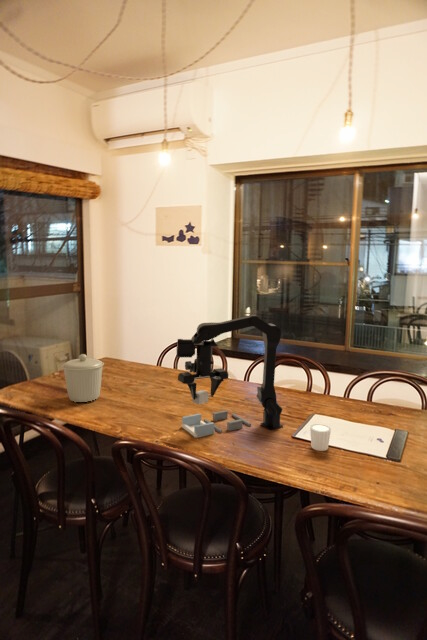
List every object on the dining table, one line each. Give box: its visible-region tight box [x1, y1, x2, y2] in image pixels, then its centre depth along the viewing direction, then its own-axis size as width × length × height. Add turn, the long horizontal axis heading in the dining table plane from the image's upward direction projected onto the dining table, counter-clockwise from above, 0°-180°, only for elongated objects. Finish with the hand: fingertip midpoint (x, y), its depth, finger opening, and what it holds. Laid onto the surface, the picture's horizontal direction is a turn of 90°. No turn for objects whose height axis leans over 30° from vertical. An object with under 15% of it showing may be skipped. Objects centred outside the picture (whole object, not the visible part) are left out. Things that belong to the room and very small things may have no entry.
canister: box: [61, 353, 105, 403], centre depth 191 cm, size 18×18×21 cm
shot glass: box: [309, 423, 332, 452], centre depth 145 cm, size 7×7×7 cm
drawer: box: [181, 413, 216, 439], centre depth 159 cm, size 11×8×4 cm
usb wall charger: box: [192, 389, 212, 406], centre depth 159 cm, size 4×7×4 cm, turn 133°
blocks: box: [203, 409, 252, 434], centre depth 165 cm, size 12×14×3 cm
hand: (202, 398), depth 159 cm, fingers closed on usb wall charger, 7 cm apart
